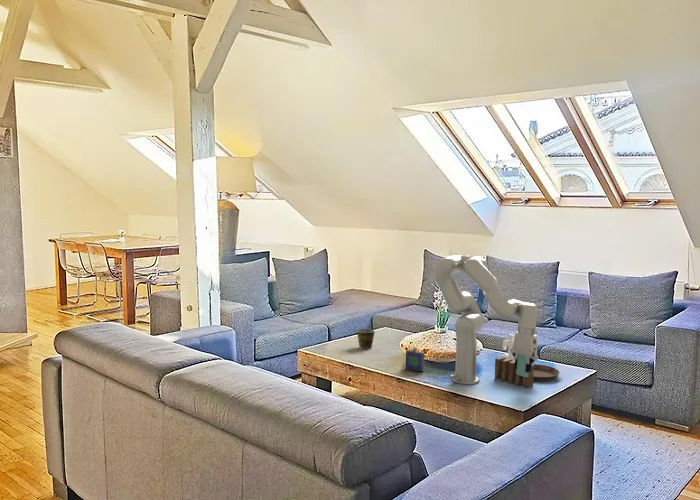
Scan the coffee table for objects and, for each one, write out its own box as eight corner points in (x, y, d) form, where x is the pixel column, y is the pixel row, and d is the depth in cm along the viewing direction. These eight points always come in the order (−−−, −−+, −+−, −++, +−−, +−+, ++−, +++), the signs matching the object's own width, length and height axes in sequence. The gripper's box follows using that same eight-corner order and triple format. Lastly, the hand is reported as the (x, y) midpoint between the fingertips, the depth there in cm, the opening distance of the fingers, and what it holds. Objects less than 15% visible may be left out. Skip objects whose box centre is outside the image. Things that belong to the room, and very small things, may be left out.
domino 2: (511, 380, 301) (512, 359, 300) (504, 381, 297) (505, 361, 297) (507, 379, 302) (508, 358, 301) (501, 380, 299) (502, 360, 298)
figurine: (506, 359, 338) (507, 331, 336) (522, 363, 331) (523, 334, 329) (498, 361, 333) (499, 333, 331) (514, 365, 326) (515, 337, 324)
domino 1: (504, 378, 304) (505, 357, 303) (498, 379, 301) (498, 359, 300) (501, 377, 305) (501, 356, 304) (494, 378, 302) (495, 358, 301)
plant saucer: (548, 385, 293) (548, 378, 293) (507, 376, 307) (507, 370, 306) (566, 376, 309) (566, 369, 308) (526, 368, 322) (526, 361, 322)
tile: (525, 377, 281) (527, 355, 279) (516, 374, 284) (518, 352, 283) (528, 376, 282) (530, 354, 281) (518, 373, 286) (520, 351, 285)
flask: (424, 371, 314) (425, 348, 313) (422, 372, 311) (422, 349, 310) (406, 368, 319) (407, 345, 318) (404, 369, 316) (404, 347, 315)
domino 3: (518, 382, 298) (519, 361, 297) (511, 383, 294) (512, 362, 293) (514, 381, 299) (515, 360, 298) (508, 382, 296) (509, 362, 295)
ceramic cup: (361, 345, 365) (361, 328, 364) (377, 347, 361) (377, 330, 360) (351, 350, 354) (351, 332, 353) (367, 352, 349) (367, 334, 348)
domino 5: (532, 386, 291) (533, 365, 290) (526, 388, 288) (527, 366, 287) (529, 385, 293) (530, 364, 292) (522, 387, 290) (523, 365, 289)
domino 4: (525, 384, 294) (526, 363, 294) (519, 386, 291) (519, 364, 290) (522, 383, 296) (522, 362, 295) (515, 385, 293) (516, 363, 292)
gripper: (547, 334, 277) (543, 374, 279) (515, 325, 290) (512, 364, 292) (537, 336, 272) (533, 377, 274) (505, 327, 285) (501, 366, 287)
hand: (522, 369), depth 283 cm, fingers closed on tile, 4 cm apart
